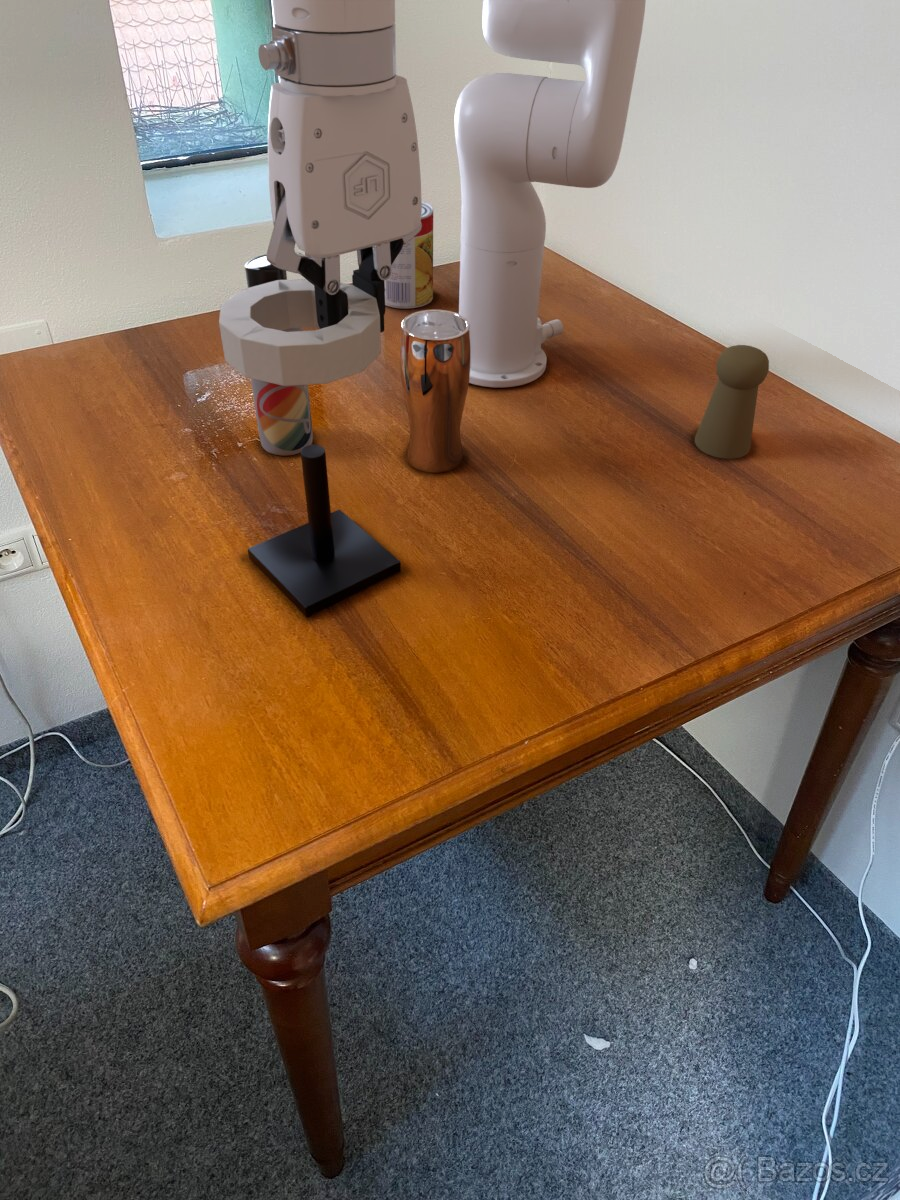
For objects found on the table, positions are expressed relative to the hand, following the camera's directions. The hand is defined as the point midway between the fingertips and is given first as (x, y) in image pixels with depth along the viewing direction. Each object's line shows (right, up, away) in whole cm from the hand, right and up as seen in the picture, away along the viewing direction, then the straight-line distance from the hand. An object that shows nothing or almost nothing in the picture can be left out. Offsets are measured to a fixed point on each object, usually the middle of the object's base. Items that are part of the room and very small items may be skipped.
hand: (352, 330), depth 68 cm
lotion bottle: (-10, -4, +28) cm, 30 cm away
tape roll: (-3, -2, -2) cm, 4 cm away
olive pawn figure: (+38, -4, +29) cm, 48 cm away
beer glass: (+6, -6, +26) cm, 27 cm away
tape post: (-4, -18, +12) cm, 22 cm away
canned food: (+1, +22, +56) cm, 60 cm away
